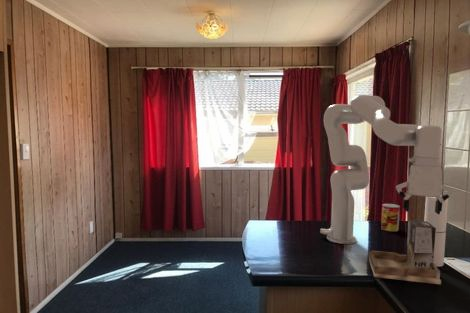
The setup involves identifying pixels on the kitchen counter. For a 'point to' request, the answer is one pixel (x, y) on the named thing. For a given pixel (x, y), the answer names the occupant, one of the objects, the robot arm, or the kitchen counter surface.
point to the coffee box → (420, 244)
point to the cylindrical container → (437, 227)
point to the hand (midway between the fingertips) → (421, 211)
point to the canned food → (390, 217)
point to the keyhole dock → (400, 268)
